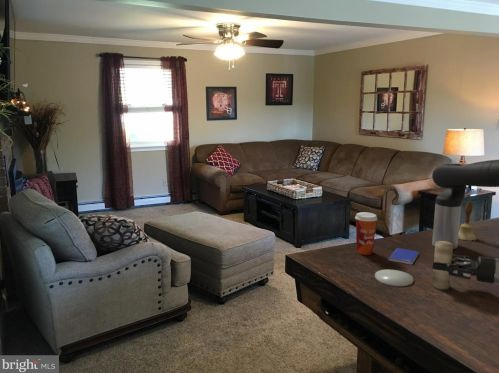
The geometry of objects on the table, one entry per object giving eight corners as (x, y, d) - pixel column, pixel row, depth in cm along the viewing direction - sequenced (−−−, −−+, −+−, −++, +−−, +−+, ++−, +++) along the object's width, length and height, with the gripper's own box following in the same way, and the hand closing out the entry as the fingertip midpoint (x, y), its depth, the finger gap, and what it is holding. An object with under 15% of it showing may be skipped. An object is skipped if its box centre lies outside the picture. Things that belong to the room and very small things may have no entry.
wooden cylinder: (432, 281, 135) (435, 240, 133) (449, 284, 133) (453, 242, 131) (431, 287, 131) (435, 245, 128) (449, 290, 129) (453, 247, 126)
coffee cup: (360, 256, 157) (362, 218, 154) (349, 249, 165) (351, 212, 162) (380, 254, 159) (382, 216, 156) (368, 247, 167) (370, 211, 164)
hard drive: (412, 262, 149) (418, 251, 160) (388, 257, 154) (396, 247, 164) (411, 266, 150) (418, 255, 160) (388, 261, 154) (396, 251, 164)
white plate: (377, 268, 146) (377, 267, 146) (414, 274, 141) (414, 272, 141) (372, 282, 135) (372, 280, 135) (411, 289, 130) (412, 287, 130)
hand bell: (469, 234, 183) (472, 198, 179) (480, 240, 175) (484, 203, 171) (450, 234, 182) (454, 199, 179) (461, 241, 174) (465, 203, 171)
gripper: (494, 251, 130) (434, 243, 137) (499, 267, 118) (433, 258, 125) (491, 273, 132) (432, 265, 139) (496, 292, 119) (431, 282, 126)
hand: (433, 262), depth 132 cm, fingers closed on wooden cylinder, 5 cm apart
